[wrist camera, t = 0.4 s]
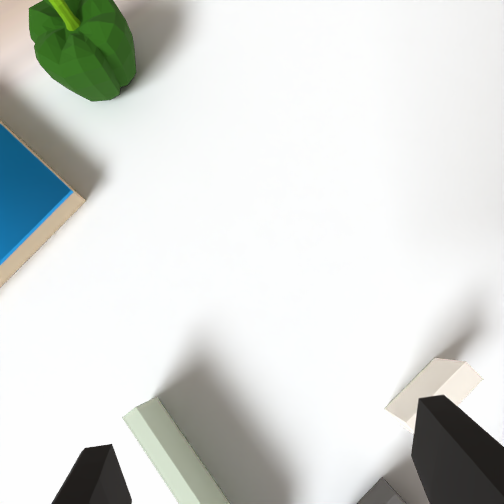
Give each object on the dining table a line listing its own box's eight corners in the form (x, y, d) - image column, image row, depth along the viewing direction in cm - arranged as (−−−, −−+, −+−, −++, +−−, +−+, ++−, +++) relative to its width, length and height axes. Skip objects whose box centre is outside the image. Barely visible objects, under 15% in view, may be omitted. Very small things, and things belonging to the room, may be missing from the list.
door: (255, 541, 33) (251, 579, 28) (236, 557, 33) (228, 599, 28) (156, 396, 36) (135, 406, 31) (138, 411, 36) (114, 423, 31)
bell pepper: (157, 99, 42) (120, 26, 32) (77, 125, 42) (17, 60, 32) (135, 29, 44) (95, -60, 34) (59, 54, 44) (-4, -28, 34)
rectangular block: (198, 627, 33) (181, 690, 27) (184, 609, 33) (164, 668, 27) (449, 372, 35) (483, 379, 30) (434, 357, 36) (465, 361, 30)
